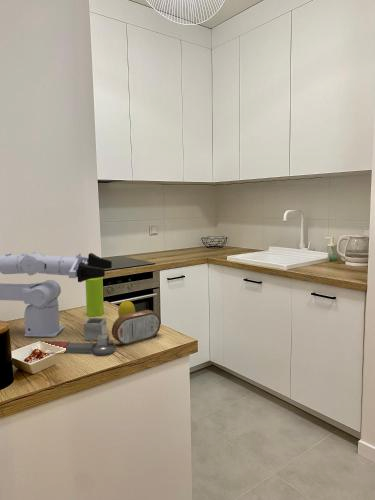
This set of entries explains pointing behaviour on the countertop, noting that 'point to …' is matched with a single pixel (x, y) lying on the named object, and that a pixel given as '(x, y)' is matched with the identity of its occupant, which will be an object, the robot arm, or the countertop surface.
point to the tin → (136, 327)
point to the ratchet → (88, 346)
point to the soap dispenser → (94, 296)
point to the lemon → (126, 308)
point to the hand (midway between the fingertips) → (108, 268)
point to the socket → (94, 328)
